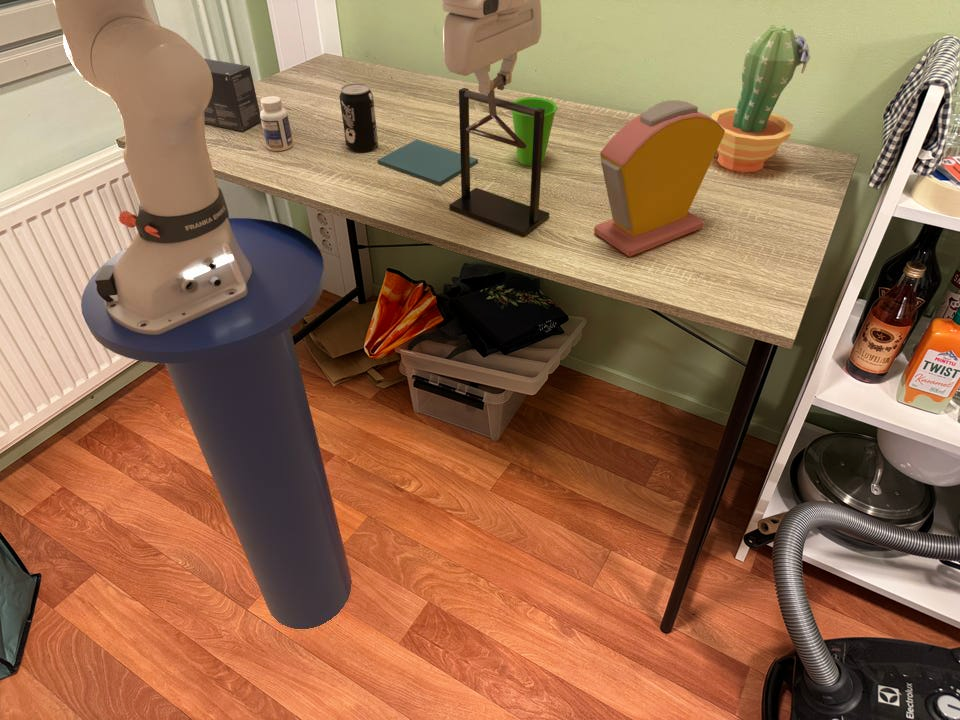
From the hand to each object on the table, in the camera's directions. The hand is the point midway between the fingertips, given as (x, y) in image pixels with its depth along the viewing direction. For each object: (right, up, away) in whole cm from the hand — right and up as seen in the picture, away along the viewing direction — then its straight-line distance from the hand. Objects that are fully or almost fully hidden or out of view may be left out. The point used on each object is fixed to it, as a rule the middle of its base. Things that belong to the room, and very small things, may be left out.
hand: (495, 88), depth 104 cm
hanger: (+1, -2, +3) cm, 4 cm away
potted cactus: (+50, -3, +31) cm, 58 cm away
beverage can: (-27, +2, +37) cm, 45 cm away
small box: (-58, +11, +47) cm, 75 cm away
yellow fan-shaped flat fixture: (+26, -20, +11) cm, 35 cm away
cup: (+8, -2, +31) cm, 32 cm away
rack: (+1, -16, +16) cm, 22 cm away
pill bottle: (-44, +3, +37) cm, 58 cm away
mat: (-13, -3, +31) cm, 33 cm away
